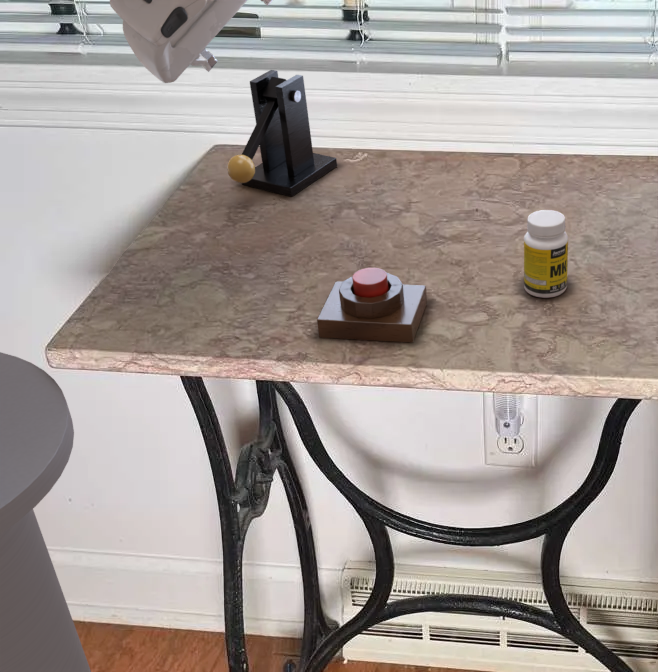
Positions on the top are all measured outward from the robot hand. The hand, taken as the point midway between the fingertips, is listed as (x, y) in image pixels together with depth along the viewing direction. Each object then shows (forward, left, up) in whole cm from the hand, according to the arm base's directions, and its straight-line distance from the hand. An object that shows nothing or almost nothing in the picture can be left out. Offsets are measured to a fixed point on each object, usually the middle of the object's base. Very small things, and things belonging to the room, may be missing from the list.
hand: (238, 30), depth 126 cm
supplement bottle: (+17, -31, -25) cm, 43 cm away
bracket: (+11, +13, -24) cm, 30 cm away
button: (-1, -24, -21) cm, 32 cm away
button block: (-1, -24, -24) cm, 34 cm away
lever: (+7, +12, -18) cm, 23 cm away
